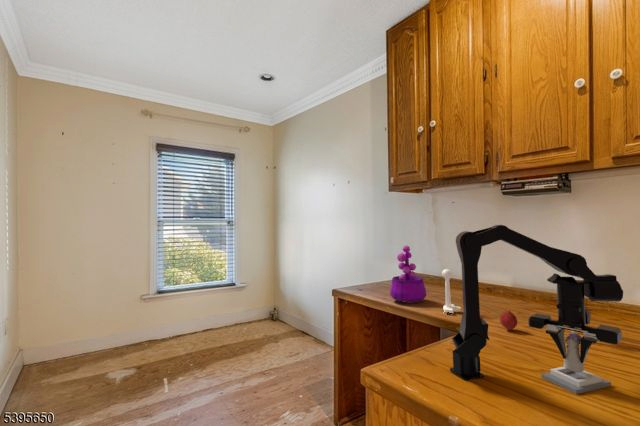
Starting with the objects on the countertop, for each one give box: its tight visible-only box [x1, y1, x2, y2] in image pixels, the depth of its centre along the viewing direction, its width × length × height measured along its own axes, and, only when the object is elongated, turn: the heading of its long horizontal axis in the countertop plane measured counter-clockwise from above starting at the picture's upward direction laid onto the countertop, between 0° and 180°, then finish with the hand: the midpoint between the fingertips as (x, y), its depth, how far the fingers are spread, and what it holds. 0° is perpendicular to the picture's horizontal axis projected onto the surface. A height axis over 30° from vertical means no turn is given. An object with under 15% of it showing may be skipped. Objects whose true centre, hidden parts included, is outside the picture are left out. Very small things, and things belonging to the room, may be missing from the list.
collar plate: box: [541, 366, 612, 395], centre depth 85 cm, size 12×9×2 cm
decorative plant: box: [389, 244, 427, 303], centre depth 175 cm, size 19×18×30 cm
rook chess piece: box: [563, 335, 586, 372], centre depth 85 cm, size 4×4×8 cm
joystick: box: [441, 268, 462, 314], centre depth 153 cm, size 11×8×20 cm
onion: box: [499, 309, 518, 331], centre depth 126 cm, size 6×6×8 cm
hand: (573, 360), depth 85 cm, fingers closed on rook chess piece, 3 cm apart
